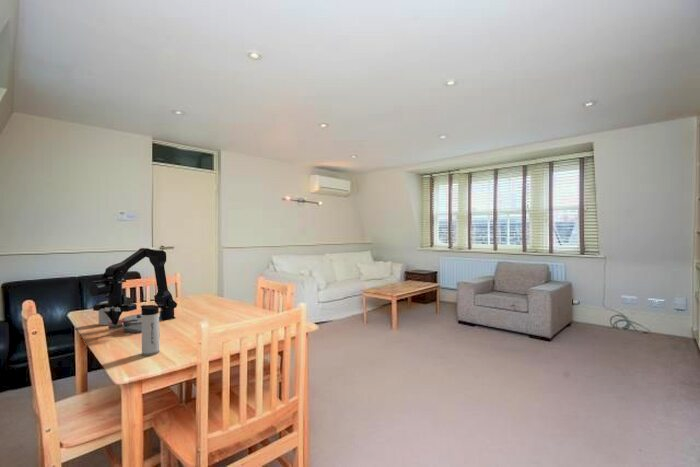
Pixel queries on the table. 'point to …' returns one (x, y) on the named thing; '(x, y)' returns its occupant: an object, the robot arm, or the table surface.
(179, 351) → the table surface
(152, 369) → the table surface
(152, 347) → the travel mug
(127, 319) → the lid
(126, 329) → the pot
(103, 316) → the can
